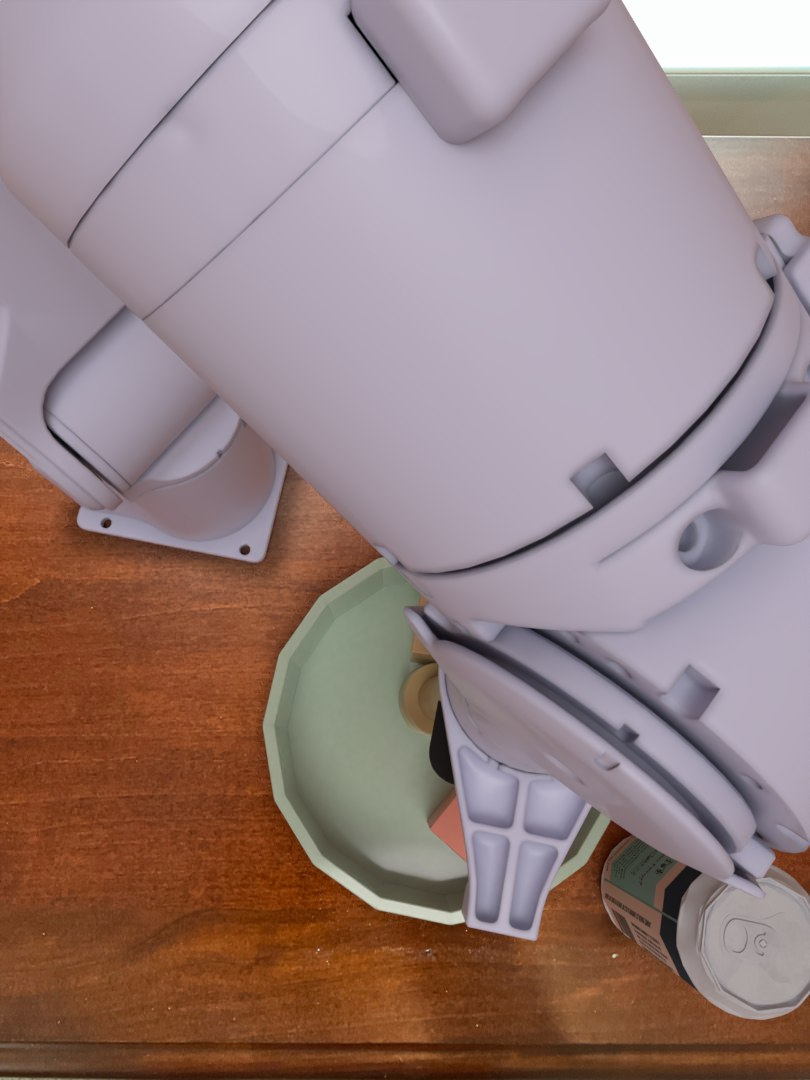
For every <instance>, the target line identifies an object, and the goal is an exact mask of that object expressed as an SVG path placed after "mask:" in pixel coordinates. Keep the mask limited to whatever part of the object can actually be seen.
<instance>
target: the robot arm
mask: <svg viewBox="0 0 810 1080" xmlns="http://www.w3.org/2000/svg"><path fill="white" fill-rule="evenodd" d="M742 202H743V201H741V198H740V197H739V196H738V194H737V192H736V190H735V189H734V188H733V185H732V184H731V182H730V180H729V178H728V177H727V175H726V173H725V172H724V170H723V168H722V167H721V165H720V164H719V162H718V160H717V158H716V156H715V155H714V153H713V152H712V150H711V149H710V147H709V145H708V143H707V141H706V140H705V138H704V136H703V135H702V133H701V132H700V130H699V128H698V126H697V125H696V123H695V121H694V120H693V118H692V117H691V115H690V113H689V111H688V109H687V108H686V106H685V105H684V103H683V101H682V99H681V98H680V96H679V94H678V93H677V91H676V89H675V88H674V86H673V84H672V83H671V81H670V79H669V77H668V75H667V74H666V72H665V71H664V69H663V68H662V65H661V64H660V62H659V61H658V59H657V57H656V55H655V53H654V52H653V51H652V49H651V47H650V46H649V44H648V42H647V41H646V38H645V37H644V35H643V34H642V31H640V29H639V27H638V25H637V23H636V22H635V20H634V18H633V16H632V15H631V13H630V12H629V10H628V9H627V6H626V5H625V3H624V2H623V0H0V437H1V438H2V439H3V440H4V441H5V442H7V443H8V444H9V445H10V446H11V447H13V448H14V449H15V450H16V451H17V452H18V453H20V454H21V455H22V456H23V457H25V458H26V460H27V461H28V463H29V464H30V466H31V467H32V469H33V470H34V471H35V472H37V473H38V474H39V475H41V476H42V477H43V478H45V479H46V481H48V482H49V483H50V484H52V485H53V486H55V487H56V488H57V489H58V490H60V491H61V492H62V493H64V495H66V496H67V497H68V498H70V499H71V500H72V501H74V502H75V503H76V504H77V505H78V506H80V507H79V510H78V513H77V517H76V523H77V524H76V525H77V526H78V527H79V528H80V529H81V530H83V531H86V532H92V533H97V534H102V535H107V536H111V537H116V538H122V539H127V540H132V541H138V542H143V543H148V544H154V545H158V546H164V547H169V548H174V549H179V550H184V551H189V552H194V553H200V554H204V555H210V556H214V557H220V558H225V559H231V560H234V561H235V560H237V561H242V562H245V563H251V564H259V563H261V562H263V561H264V560H265V558H266V555H267V553H268V549H269V545H270V541H271V535H272V533H273V528H274V523H275V520H276V516H277V512H278V509H279V508H278V507H279V503H280V499H281V495H282V491H283V488H284V482H285V480H286V479H285V478H286V476H287V471H288V467H290V468H291V469H292V470H294V471H295V472H296V473H297V474H298V475H299V476H300V477H301V478H302V479H303V480H304V481H305V482H306V483H307V484H308V485H309V486H310V487H311V488H312V489H313V490H314V491H315V492H316V493H317V494H318V495H319V496H320V497H321V498H322V499H323V500H324V501H326V502H327V503H328V504H329V505H330V506H331V507H332V508H333V509H334V510H335V511H336V513H338V514H339V515H340V516H341V517H342V518H343V519H344V520H345V521H346V522H347V523H348V524H349V525H350V526H351V527H352V528H353V529H354V530H355V531H356V532H357V533H358V534H359V535H360V536H361V537H362V538H363V539H364V540H365V541H366V542H367V543H369V545H370V546H371V547H372V548H373V549H375V551H377V552H378V553H379V554H380V555H381V557H384V558H386V559H387V560H388V562H389V563H390V564H391V565H392V566H393V567H394V568H395V569H396V570H397V571H398V572H399V573H400V574H401V575H402V576H403V577H404V578H405V579H406V580H407V581H408V582H409V583H410V584H411V585H412V586H413V587H414V588H415V589H416V590H417V591H418V592H419V593H420V594H421V595H422V596H423V597H424V598H425V599H427V600H428V603H427V604H426V605H425V606H406V607H405V608H404V616H405V618H406V621H407V623H408V625H409V626H410V628H411V629H412V631H413V632H414V634H415V635H416V636H417V638H418V639H419V640H420V642H421V643H422V644H423V645H424V647H425V648H426V649H427V651H428V652H429V653H430V654H431V656H432V657H433V658H434V660H435V661H436V662H437V664H438V665H439V666H438V683H439V693H440V699H441V701H439V700H438V703H437V709H436V714H435V720H434V725H433V731H432V736H431V742H430V747H429V759H430V763H431V766H432V768H433V770H434V771H435V772H436V774H437V775H438V776H439V777H440V778H442V779H443V780H444V781H446V782H448V783H450V784H454V785H455V790H456V796H457V802H458V808H459V814H460V820H461V826H462V832H463V838H464V844H465V851H466V860H467V869H468V882H467V885H466V888H465V894H464V900H463V906H462V915H463V917H464V920H465V925H466V926H467V927H468V928H471V929H475V930H479V931H486V932H490V933H493V934H499V935H503V936H507V937H508V936H509V937H513V938H517V939H523V940H528V941H532V942H535V941H537V940H538V938H539V931H540V926H541V921H542V916H543V911H544V909H545V905H546V900H547V898H548V895H549V893H550V891H551V890H550V888H551V885H552V883H553V881H554V879H555V876H556V874H557V872H558V870H559V868H560V866H561V864H562V862H563V860H564V858H565V857H566V855H567V853H568V851H569V849H570V847H571V845H572V843H573V841H574V839H575V837H576V836H577V834H578V832H579V830H580V828H581V826H582V824H583V822H584V820H585V818H586V816H587V815H588V813H589V811H590V809H591V807H592V806H593V807H594V808H595V809H597V810H598V811H599V812H601V813H602V814H604V815H605V816H606V817H608V818H609V819H611V822H614V823H615V824H616V825H618V826H619V827H621V828H622V829H624V830H625V831H626V832H628V833H629V834H630V835H634V836H636V837H637V838H639V839H640V840H642V841H643V842H645V843H646V844H648V845H650V846H651V847H653V848H655V849H656V850H658V851H660V852H661V853H663V854H665V855H667V856H669V857H671V858H673V859H675V860H677V861H679V862H681V863H683V864H685V865H687V866H690V867H692V868H694V869H696V870H698V871H700V872H702V873H705V874H707V875H709V876H711V877H713V878H715V879H717V880H719V881H722V882H724V883H726V884H728V885H730V886H732V887H734V888H737V889H739V890H741V891H743V892H745V893H747V894H749V895H752V896H754V897H756V898H759V899H763V898H764V897H765V896H766V894H765V892H764V891H763V890H762V889H761V888H760V886H759V884H758V883H757V881H756V879H755V878H763V877H764V875H765V874H766V872H767V871H768V869H769V868H770V866H771V865H773V863H774V862H775V860H776V854H775V851H774V850H776V851H779V852H782V853H789V854H796V855H797V854H799V853H804V852H806V851H807V850H808V848H809V847H810V235H803V234H801V233H800V232H799V231H798V230H797V228H796V227H795V225H794V223H793V222H792V220H791V219H790V218H789V217H788V216H786V215H785V214H781V213H773V214H771V215H767V216H763V217H758V218H755V219H752V217H751V216H750V214H749V213H748V211H747V209H746V207H745V206H744V204H743V203H742ZM107 521H111V522H110V523H111V524H110V525H109V526H108V527H104V525H105V523H106V522H107ZM246 547H248V548H249V552H248V553H247V554H242V550H243V548H246ZM754 877H755V878H754ZM549 890H550V891H549Z"/></svg>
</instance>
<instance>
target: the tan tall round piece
mask: <svg viewBox="0 0 810 1080" xmlns="http://www.w3.org/2000/svg"><path fill="white" fill-rule="evenodd" d="M438 666H439V665H438V664H437V663H431V664H427V665H424V666H422V667H419V668H417V669H415V670H413V671H412V672H411V673H410V674H409V675H408V676H407V677H406V678H405V679H404V681H403V683H402V685H401V688H400V691H399V701H398V702H399V708H400V712H401V715H402V717H403V719H404V720H405V722H406V723H407V725H408V726H409V727H410V728H411V729H413V730H414V731H415V732H417V733H419V734H421V735H424V736H429V737H431V736H432V731H433V725H434V720H435V714H436V709H437V703H438V700H439V701H441V699H440V693H439V683H438Z"/></svg>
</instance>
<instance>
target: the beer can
mask: <svg viewBox="0 0 810 1080" xmlns="http://www.w3.org/2000/svg"><path fill="white" fill-rule="evenodd" d="M754 878H755V877H754ZM755 879H756V881H757V883H758V884H759V886H760V888H761V889H762V890H763V891H764V892H765V894H766V896H765V897H764V898H763V899H759V898H756V897H754V896H752V895H749V894H747V893H745V892H743V891H741V890H739V889H737V888H734V887H732V886H730V885H728V884H726V883H724V882H722V881H719V880H717V879H715V878H713V877H711V876H709V875H707V874H705V873H702V872H700V871H698V870H696V869H694V868H692V867H690V866H687V865H685V864H683V863H681V862H679V861H677V860H675V859H673V858H671V857H669V856H667V855H665V854H663V853H661V852H660V851H658V850H656V849H655V848H653V847H651V846H650V845H648V844H646V843H645V842H643V841H642V840H640V839H639V838H637V837H636V836H634V835H633V834H630V835H629V836H627V837H626V838H624V839H622V840H621V841H620V842H619V843H618V844H617V845H616V846H615V847H614V848H613V849H611V851H610V853H609V855H608V856H607V858H606V860H605V862H604V865H603V869H602V872H601V880H600V892H601V893H600V894H601V899H602V902H603V906H604V908H605V910H606V912H607V914H608V916H609V918H610V920H611V921H612V923H613V925H615V927H616V928H617V929H618V930H619V931H620V932H621V933H623V935H625V936H626V937H627V938H629V939H630V940H632V941H633V942H635V943H636V944H637V945H638V946H640V947H641V948H642V949H644V950H645V951H646V952H647V953H648V954H649V955H651V956H652V957H654V958H655V959H656V960H658V961H659V962H661V964H662V965H664V966H665V967H667V968H668V969H669V970H670V971H672V972H673V973H674V974H676V975H677V976H678V977H679V978H681V979H682V980H683V981H685V982H686V983H687V984H688V985H690V986H691V987H692V988H694V990H696V991H697V992H698V993H699V994H701V995H702V996H703V997H704V998H705V999H706V1000H707V1001H708V1002H709V1003H710V1004H712V1005H714V1006H715V1007H717V1008H718V1009H721V1010H722V1011H723V1012H724V1013H727V1014H729V1015H733V1016H735V1017H739V1018H742V1019H747V1020H757V1021H764V1020H769V1019H774V1018H778V1017H782V1016H784V1015H787V1014H789V1013H791V1012H792V1011H795V1010H796V1009H798V1008H799V1007H800V1006H801V1005H802V1004H803V1002H805V1001H806V999H807V998H808V997H809V995H810V894H809V893H808V892H807V891H806V890H805V889H804V887H803V886H802V885H801V884H800V883H799V882H798V880H796V879H795V878H794V877H793V876H791V875H790V874H789V873H788V872H786V871H784V870H783V869H782V868H779V867H777V866H776V865H775V864H772V865H771V866H770V868H769V869H768V871H767V872H766V874H765V875H764V877H763V878H755Z"/></svg>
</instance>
